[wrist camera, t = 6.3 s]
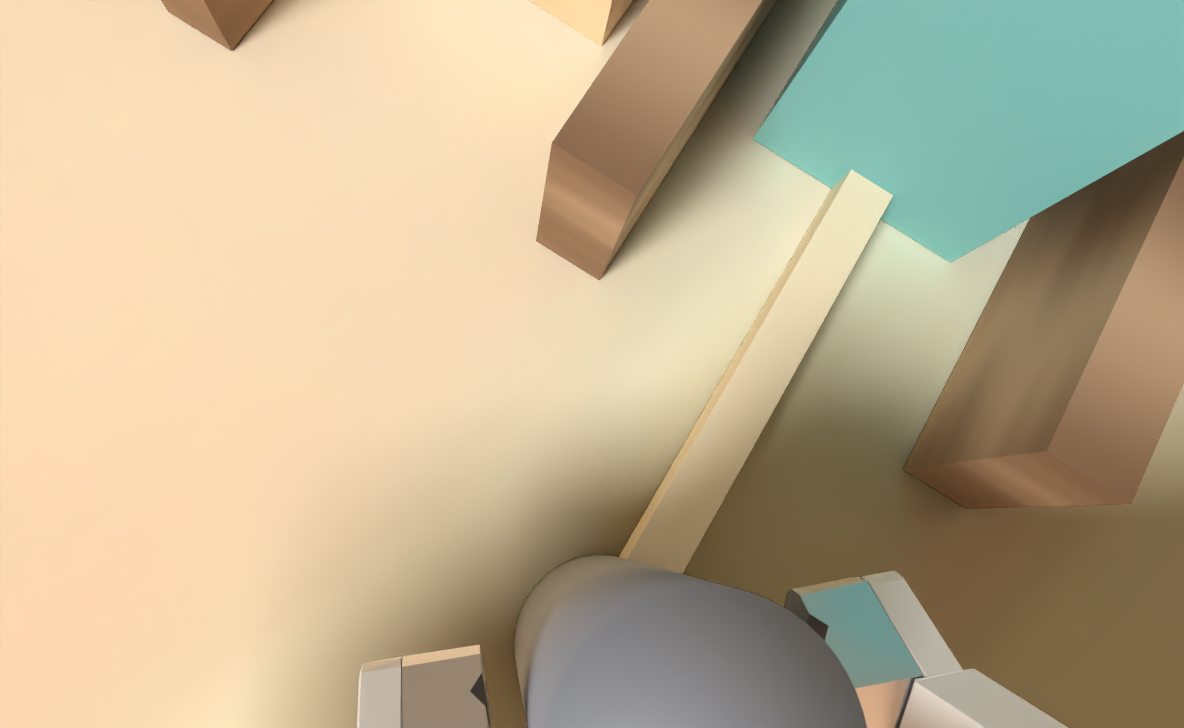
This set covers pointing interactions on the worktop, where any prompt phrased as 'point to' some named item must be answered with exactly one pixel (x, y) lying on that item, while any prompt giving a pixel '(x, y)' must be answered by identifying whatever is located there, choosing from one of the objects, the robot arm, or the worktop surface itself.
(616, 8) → the oak block
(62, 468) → the worktop surface
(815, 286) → the block
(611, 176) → the tray
